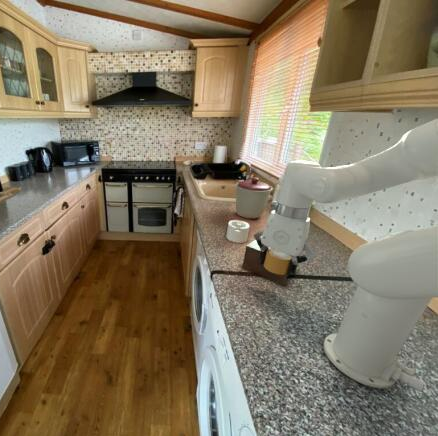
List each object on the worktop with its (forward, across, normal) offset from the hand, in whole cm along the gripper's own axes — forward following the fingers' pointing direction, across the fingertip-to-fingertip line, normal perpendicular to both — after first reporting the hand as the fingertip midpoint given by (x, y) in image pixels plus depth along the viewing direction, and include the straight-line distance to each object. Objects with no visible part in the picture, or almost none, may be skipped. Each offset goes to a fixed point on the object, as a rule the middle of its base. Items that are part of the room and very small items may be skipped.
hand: (276, 267), depth 70 cm
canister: (+11, -35, +58) cm, 68 cm away
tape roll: (0, 0, 0) cm, 0 cm away
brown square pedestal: (+10, -6, +14) cm, 18 cm away
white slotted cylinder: (+11, -28, +33) cm, 44 cm away
